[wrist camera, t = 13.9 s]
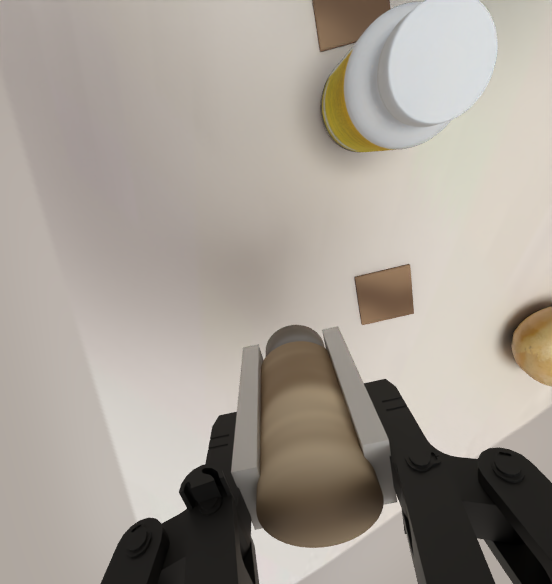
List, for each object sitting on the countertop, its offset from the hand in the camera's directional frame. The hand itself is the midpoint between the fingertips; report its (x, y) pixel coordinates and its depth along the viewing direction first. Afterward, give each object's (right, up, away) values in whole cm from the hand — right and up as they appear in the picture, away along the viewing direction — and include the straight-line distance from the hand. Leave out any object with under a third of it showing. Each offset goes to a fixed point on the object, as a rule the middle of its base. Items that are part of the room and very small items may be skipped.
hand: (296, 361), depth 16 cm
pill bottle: (+6, +17, +9) cm, 20 cm away
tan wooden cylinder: (0, 0, +1) cm, 1 cm away
